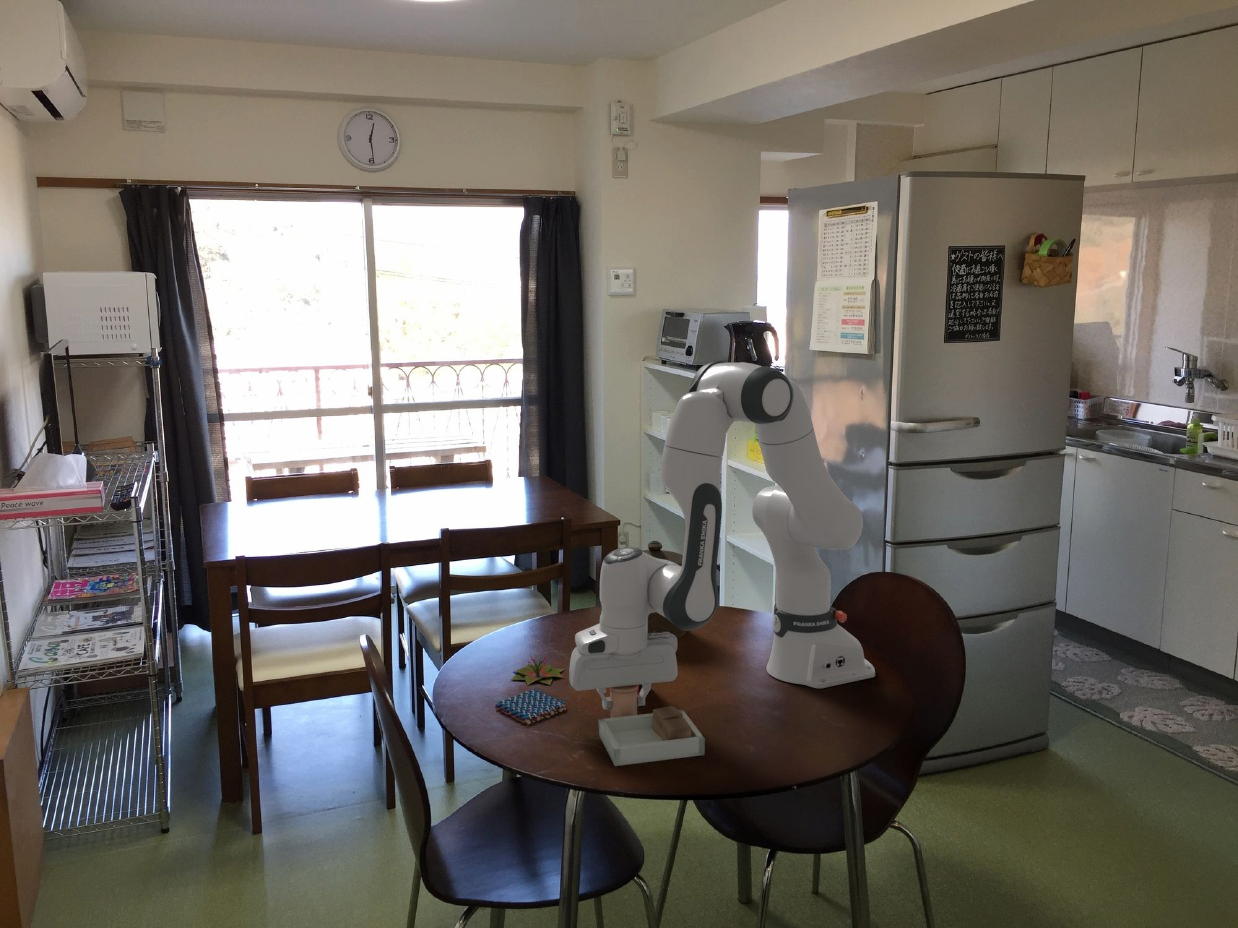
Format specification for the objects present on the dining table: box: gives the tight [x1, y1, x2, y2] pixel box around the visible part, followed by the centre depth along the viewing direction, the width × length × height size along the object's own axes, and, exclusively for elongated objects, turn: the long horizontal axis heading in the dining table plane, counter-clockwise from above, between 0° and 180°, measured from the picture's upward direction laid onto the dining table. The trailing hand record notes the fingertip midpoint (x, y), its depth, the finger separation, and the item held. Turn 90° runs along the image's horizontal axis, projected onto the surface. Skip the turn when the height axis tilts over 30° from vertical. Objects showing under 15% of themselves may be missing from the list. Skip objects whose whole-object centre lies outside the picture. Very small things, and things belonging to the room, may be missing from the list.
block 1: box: [652, 705, 683, 738], centre depth 173 cm, size 4×4×4 cm
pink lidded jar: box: [609, 685, 638, 718], centre depth 180 cm, size 5×5×7 cm
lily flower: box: [509, 653, 566, 686], centre depth 201 cm, size 12×12×5 cm
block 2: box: [662, 718, 691, 741], centre depth 169 cm, size 4×4×4 cm
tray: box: [598, 709, 706, 767], centre depth 170 cm, size 16×12×3 cm
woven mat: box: [494, 688, 568, 725], centre depth 185 cm, size 10×11×2 cm
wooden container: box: [641, 540, 687, 640], centre depth 225 cm, size 15×15×22 cm
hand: (623, 706), depth 180 cm, fingers closed on pink lidded jar, 5 cm apart
